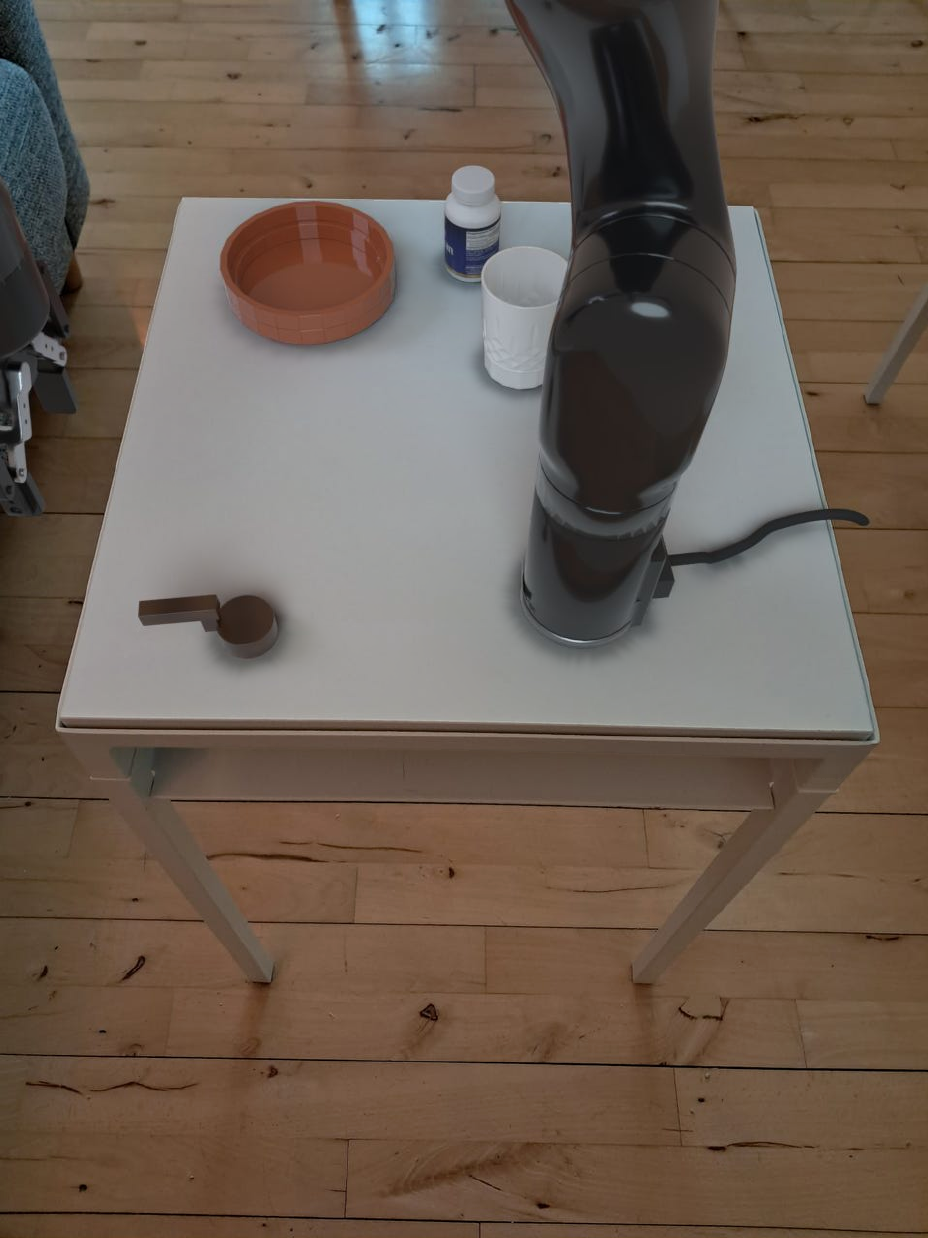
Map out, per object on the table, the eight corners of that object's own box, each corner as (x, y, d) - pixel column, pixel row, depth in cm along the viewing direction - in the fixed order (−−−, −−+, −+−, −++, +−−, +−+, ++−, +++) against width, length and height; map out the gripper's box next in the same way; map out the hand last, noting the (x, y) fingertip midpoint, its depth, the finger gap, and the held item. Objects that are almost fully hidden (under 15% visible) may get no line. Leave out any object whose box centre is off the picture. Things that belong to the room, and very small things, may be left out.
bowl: (389, 230, 97) (387, 196, 94) (401, 342, 89) (400, 309, 86) (229, 240, 96) (221, 205, 93) (227, 354, 88) (218, 321, 84)
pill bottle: (437, 253, 96) (436, 165, 87) (488, 244, 96) (491, 155, 88) (453, 288, 93) (454, 200, 85) (505, 278, 94) (510, 190, 85)
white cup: (576, 381, 87) (590, 294, 78) (497, 404, 85) (503, 318, 77) (541, 325, 90) (551, 236, 82) (465, 346, 89) (467, 257, 80)
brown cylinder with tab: (278, 607, 74) (267, 572, 70) (278, 656, 72) (267, 623, 68) (158, 617, 73) (140, 583, 69) (155, 667, 71) (136, 635, 67)
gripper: (-21, 352, 43) (78, 553, 57) (57, 163, 51) (128, 382, 64) (-188, 340, 43) (-48, 544, 57) (-85, 152, 50) (17, 374, 64)
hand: (46, 458), depth 61 cm, fingers open, 8 cm apart
